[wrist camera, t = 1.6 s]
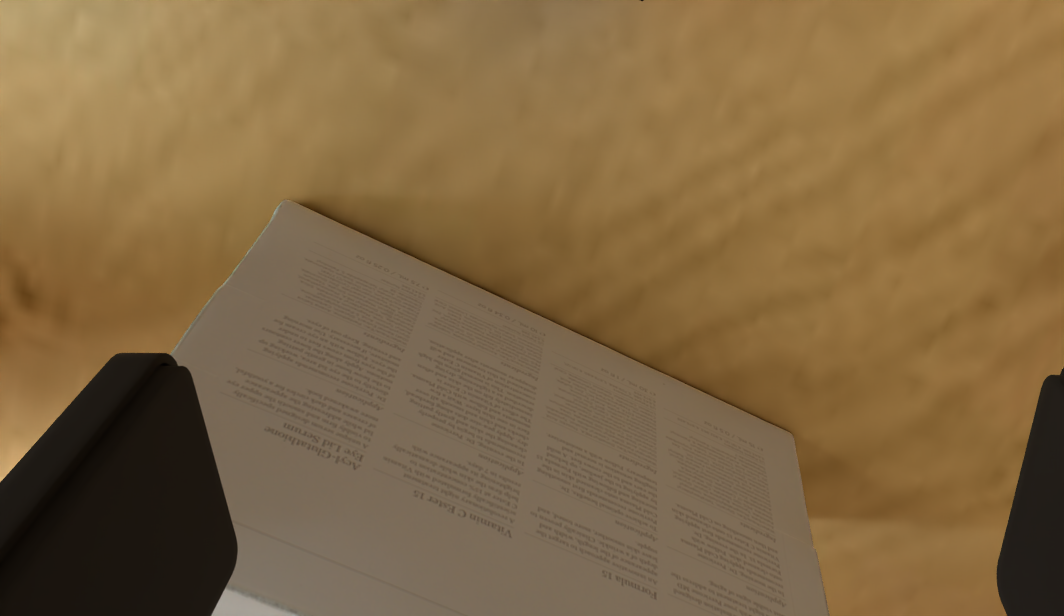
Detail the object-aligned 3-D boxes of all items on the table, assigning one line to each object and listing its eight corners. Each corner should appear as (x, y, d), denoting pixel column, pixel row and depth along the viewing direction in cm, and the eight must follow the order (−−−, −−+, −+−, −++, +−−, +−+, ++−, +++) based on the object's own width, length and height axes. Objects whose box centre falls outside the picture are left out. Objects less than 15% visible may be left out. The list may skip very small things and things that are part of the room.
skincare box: (239, 309, 36) (-4, 646, 22) (285, 191, 34) (41, 490, 20) (723, 527, 39) (771, 941, 25) (800, 434, 37) (898, 840, 23)
